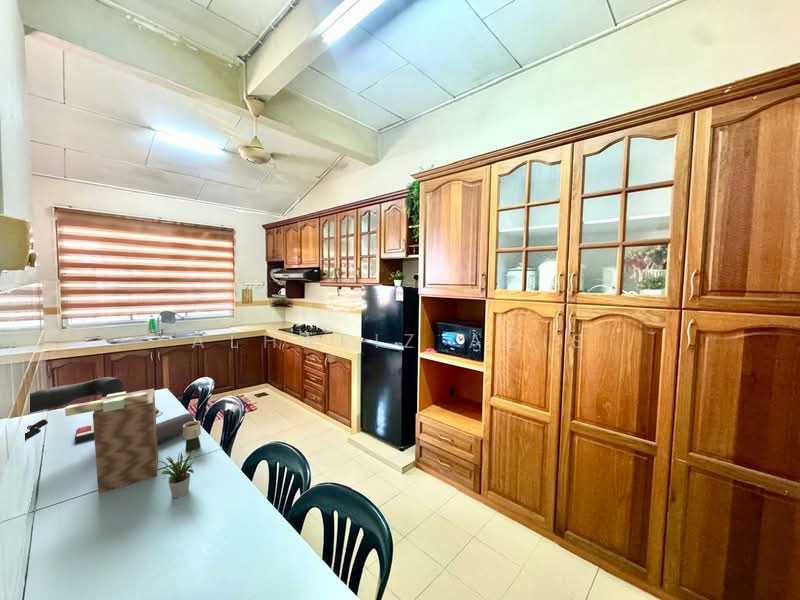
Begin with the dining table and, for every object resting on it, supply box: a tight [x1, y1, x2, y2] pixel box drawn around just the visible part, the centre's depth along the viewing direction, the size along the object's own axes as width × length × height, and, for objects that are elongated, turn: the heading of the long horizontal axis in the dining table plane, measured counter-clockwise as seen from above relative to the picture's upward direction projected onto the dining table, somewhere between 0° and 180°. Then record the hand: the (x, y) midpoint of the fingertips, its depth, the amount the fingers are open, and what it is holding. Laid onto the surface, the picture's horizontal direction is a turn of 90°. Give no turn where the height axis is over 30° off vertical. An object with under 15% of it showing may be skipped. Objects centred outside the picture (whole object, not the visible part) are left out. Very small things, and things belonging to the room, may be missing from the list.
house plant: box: [154, 449, 197, 499], centre depth 119 cm, size 14×14×16 cm
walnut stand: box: [92, 388, 159, 495], centre depth 134 cm, size 18×22×32 cm
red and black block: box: [74, 424, 95, 445], centre depth 168 cm, size 11×4×15 cm
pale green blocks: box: [103, 391, 128, 412], centre depth 127 cm, size 6×12×4 cm, turn 37°
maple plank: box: [64, 392, 148, 417], centre depth 125 cm, size 24×4×3 cm, turn 127°
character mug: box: [182, 420, 202, 453], centre depth 152 cm, size 11×7×13 cm, turn 58°
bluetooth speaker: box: [156, 412, 195, 445], centre depth 163 cm, size 23×9×10 cm, turn 154°
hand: (42, 424), depth 115 cm, fingers open, 8 cm apart
